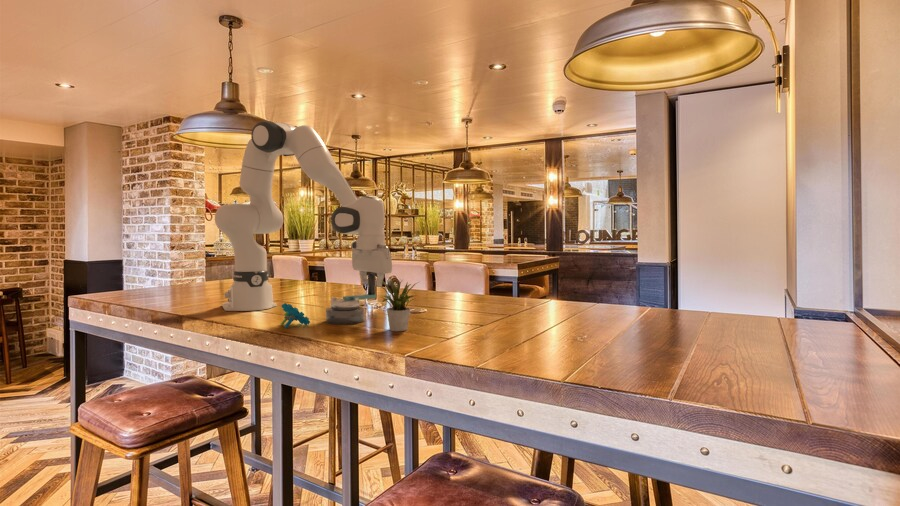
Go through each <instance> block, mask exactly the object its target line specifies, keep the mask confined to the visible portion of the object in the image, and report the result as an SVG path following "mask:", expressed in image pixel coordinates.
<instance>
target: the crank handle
mask: <svg viewBox="0 0 900 506" xmlns="http://www.w3.org/2000/svg"><path fill="white" fill-rule="evenodd" d="M367 279H368V284H367V293H366V294H357V295H356V294H355V295H345V296H342V298H338V297H336V296H333V297H331V298H330V299H331V300H330V308H331V309H333V310H354V309H358V308H359V306H360V301H361V300H369V299H370V300H371V299H377V294H376V286H375V281H376V273H374V272H369V273H367Z"/></svg>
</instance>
